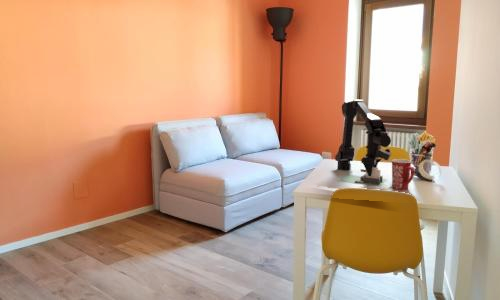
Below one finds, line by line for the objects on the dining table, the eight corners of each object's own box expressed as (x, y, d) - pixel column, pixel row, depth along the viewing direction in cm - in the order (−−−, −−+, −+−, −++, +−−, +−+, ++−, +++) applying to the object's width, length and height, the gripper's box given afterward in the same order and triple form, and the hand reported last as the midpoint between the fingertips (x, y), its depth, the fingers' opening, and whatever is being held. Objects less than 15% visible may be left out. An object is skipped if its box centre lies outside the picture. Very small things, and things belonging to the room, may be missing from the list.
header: (360, 181, 203) (360, 177, 203) (364, 178, 210) (364, 173, 209) (378, 184, 199) (378, 179, 198) (382, 180, 205) (382, 176, 204)
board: (337, 183, 205) (337, 179, 205) (347, 177, 219) (347, 173, 218) (379, 189, 195) (379, 185, 194) (387, 182, 208) (387, 177, 208)
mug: (386, 186, 200) (387, 159, 198) (401, 184, 203) (403, 158, 201) (402, 193, 189) (404, 164, 186) (419, 191, 191) (421, 163, 189)
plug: (359, 180, 205) (360, 167, 204) (361, 179, 208) (362, 165, 207) (378, 183, 201) (379, 169, 199) (380, 181, 203) (381, 168, 202)
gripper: (385, 148, 189) (383, 180, 191) (394, 142, 204) (392, 172, 207) (361, 146, 194) (360, 177, 197) (372, 140, 210) (370, 170, 213)
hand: (371, 174), depth 203 cm, fingers open, 7 cm apart
